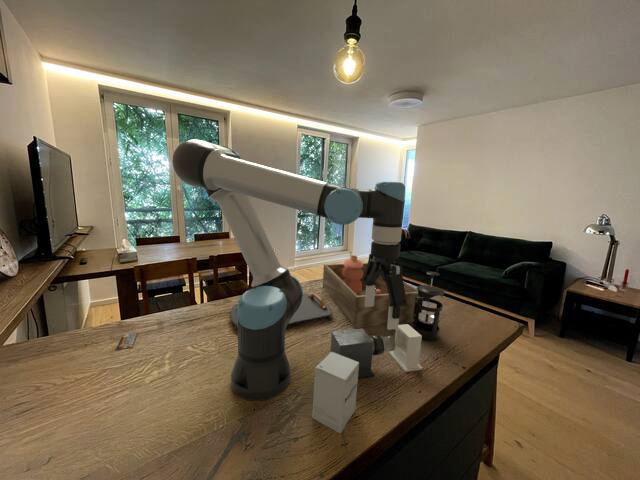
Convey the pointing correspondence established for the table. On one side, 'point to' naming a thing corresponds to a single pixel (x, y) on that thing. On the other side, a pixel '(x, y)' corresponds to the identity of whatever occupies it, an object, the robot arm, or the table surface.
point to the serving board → (300, 310)
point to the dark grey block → (354, 349)
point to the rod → (382, 344)
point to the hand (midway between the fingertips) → (379, 316)
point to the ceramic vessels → (354, 274)
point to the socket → (407, 348)
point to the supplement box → (335, 391)
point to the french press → (427, 319)
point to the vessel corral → (355, 304)
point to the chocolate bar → (127, 341)
